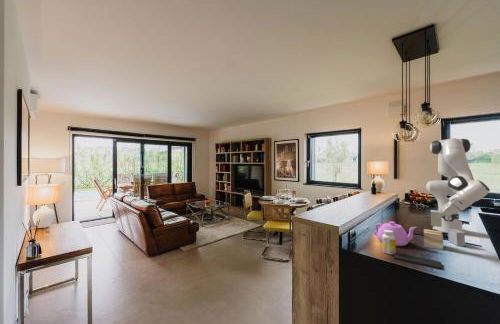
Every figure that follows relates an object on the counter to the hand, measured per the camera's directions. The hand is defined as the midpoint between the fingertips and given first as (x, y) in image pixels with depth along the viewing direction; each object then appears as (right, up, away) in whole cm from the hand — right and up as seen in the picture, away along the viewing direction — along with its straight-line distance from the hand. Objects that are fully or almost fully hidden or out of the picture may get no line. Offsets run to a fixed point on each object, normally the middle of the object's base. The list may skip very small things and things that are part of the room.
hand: (436, 216), depth 135 cm
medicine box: (+16, -19, +4) cm, 26 cm away
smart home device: (-28, -20, -19) cm, 39 cm away
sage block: (0, -6, 0) cm, 6 cm away
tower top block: (-1, -15, +2) cm, 15 cm away
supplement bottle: (-35, -20, -8) cm, 41 cm away
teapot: (-21, -20, +8) cm, 30 cm away
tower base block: (-1, -20, +1) cm, 20 cm away
